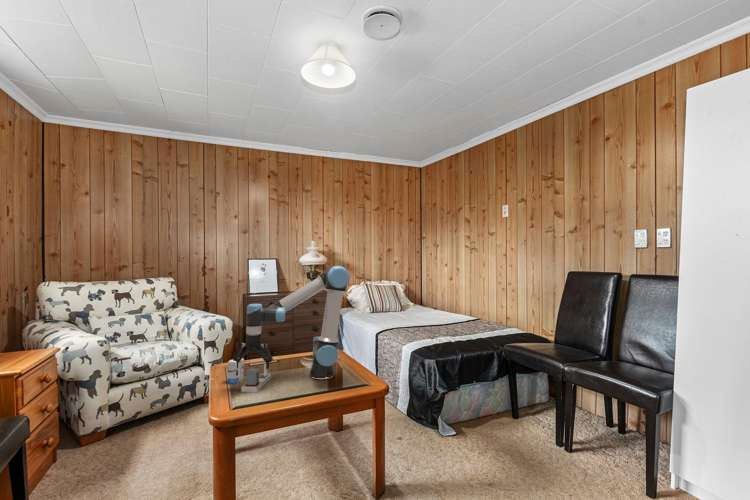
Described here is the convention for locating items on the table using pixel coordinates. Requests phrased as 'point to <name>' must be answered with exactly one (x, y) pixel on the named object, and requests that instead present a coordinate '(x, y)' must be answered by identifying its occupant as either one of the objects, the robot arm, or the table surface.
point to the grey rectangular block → (252, 377)
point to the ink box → (234, 372)
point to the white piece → (262, 382)
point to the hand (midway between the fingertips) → (252, 375)
